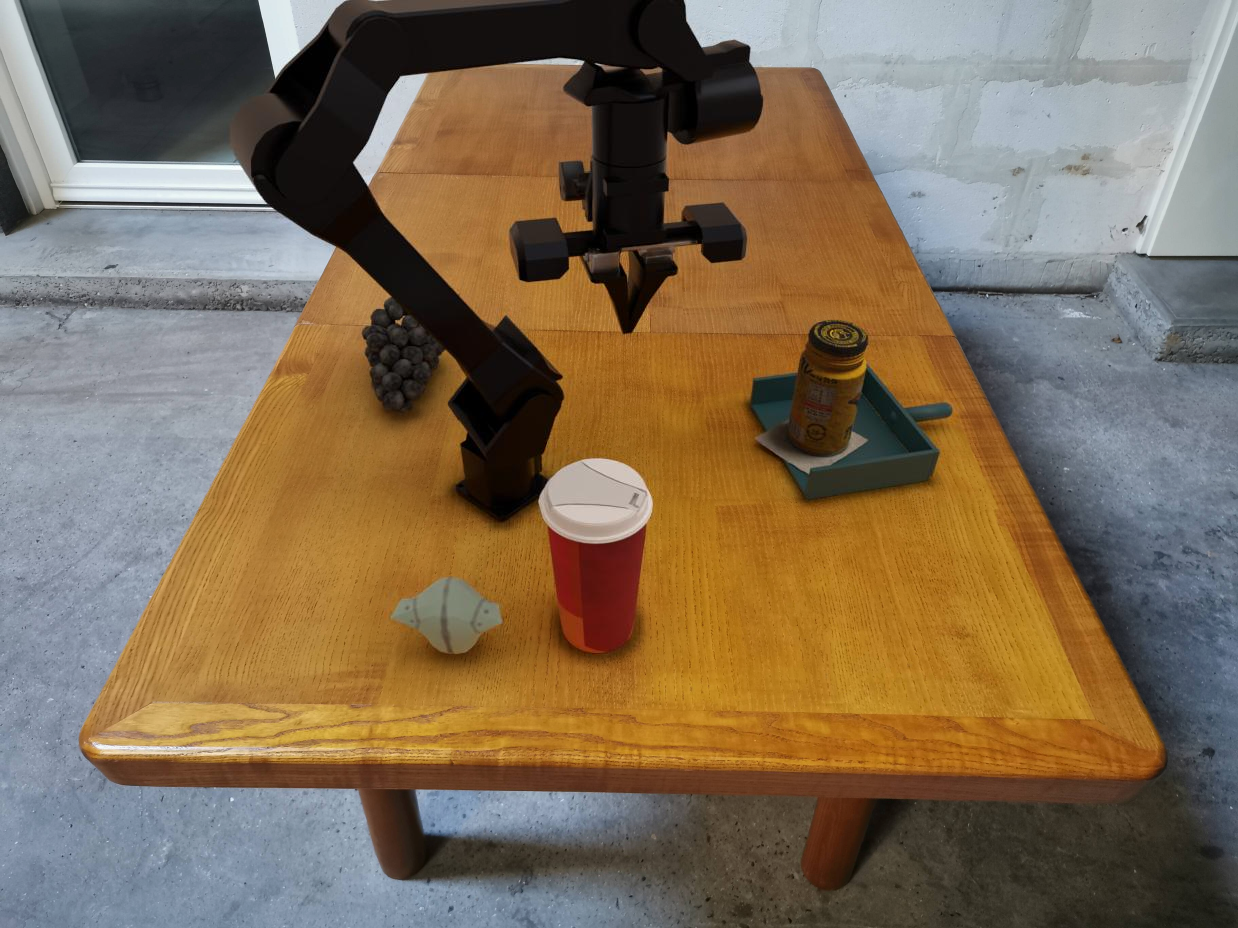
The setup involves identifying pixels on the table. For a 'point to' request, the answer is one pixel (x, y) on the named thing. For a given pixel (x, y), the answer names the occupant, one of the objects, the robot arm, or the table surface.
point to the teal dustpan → (874, 459)
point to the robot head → (449, 615)
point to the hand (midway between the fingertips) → (626, 331)
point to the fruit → (399, 356)
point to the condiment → (823, 398)
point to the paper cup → (596, 549)
